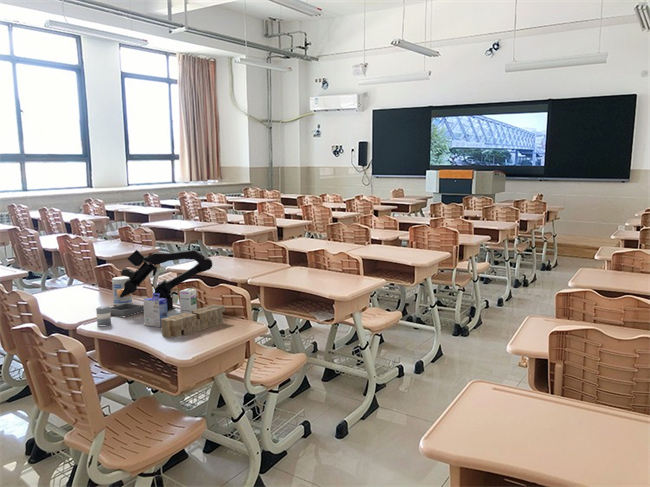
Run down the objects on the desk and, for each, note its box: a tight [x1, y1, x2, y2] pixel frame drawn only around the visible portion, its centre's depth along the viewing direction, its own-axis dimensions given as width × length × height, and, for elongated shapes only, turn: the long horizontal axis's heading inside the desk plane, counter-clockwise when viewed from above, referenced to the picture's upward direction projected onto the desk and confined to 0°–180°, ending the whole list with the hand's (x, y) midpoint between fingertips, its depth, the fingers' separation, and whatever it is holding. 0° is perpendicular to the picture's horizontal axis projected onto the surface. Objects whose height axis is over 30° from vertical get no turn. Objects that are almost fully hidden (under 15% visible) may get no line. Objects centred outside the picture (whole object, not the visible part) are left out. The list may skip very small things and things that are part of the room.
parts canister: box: [95, 305, 112, 326], centre depth 228 cm, size 6×6×8 cm
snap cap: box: [117, 289, 131, 297], centre depth 248 cm, size 7×7×3 cm
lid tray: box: [110, 303, 144, 317], centre depth 249 cm, size 12×12×3 cm
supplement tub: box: [111, 276, 133, 306], centre depth 268 cm, size 10×10×15 cm
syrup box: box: [179, 288, 199, 314], centre depth 233 cm, size 6×6×14 cm
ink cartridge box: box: [142, 292, 169, 328], centre depth 225 cm, size 10×6×14 cm, turn 65°
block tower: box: [160, 304, 226, 338], centre depth 218 cm, size 8×8×29 cm
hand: (121, 295), depth 248 cm, fingers closed on snap cap, 7 cm apart
